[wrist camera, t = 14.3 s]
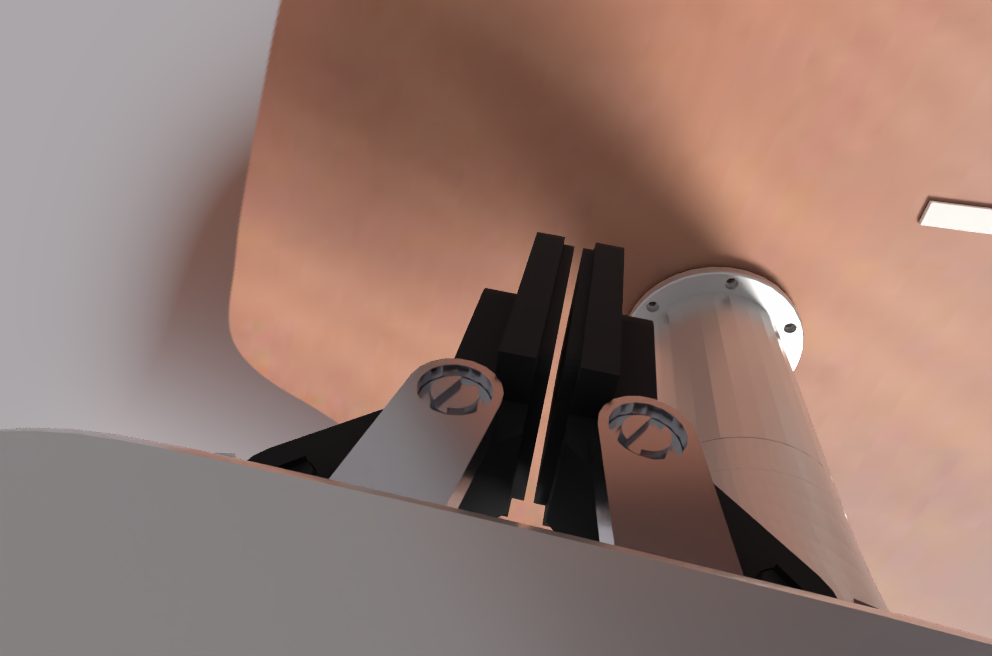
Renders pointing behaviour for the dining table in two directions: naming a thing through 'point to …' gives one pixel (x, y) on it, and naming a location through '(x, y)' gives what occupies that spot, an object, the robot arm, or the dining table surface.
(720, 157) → the dining table surface
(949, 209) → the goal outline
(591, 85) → the dining table surface
